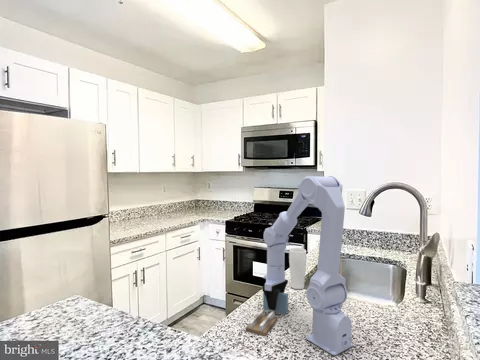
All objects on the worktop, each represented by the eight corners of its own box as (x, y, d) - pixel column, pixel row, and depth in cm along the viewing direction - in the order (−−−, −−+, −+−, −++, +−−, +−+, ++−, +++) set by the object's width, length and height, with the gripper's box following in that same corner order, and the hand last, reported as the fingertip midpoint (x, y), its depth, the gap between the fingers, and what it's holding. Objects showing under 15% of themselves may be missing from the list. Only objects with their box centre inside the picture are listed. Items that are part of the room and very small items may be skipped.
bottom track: (259, 316, 91) (259, 308, 91) (277, 320, 88) (277, 312, 88) (245, 331, 82) (245, 321, 82) (265, 336, 79) (265, 326, 79)
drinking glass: (286, 288, 115) (286, 250, 115) (291, 283, 121) (292, 247, 121) (303, 291, 111) (303, 252, 111) (308, 286, 117) (308, 249, 117)
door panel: (287, 312, 94) (288, 293, 94) (286, 314, 93) (286, 295, 93) (264, 307, 98) (265, 289, 98) (263, 309, 97) (263, 291, 97)
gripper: (271, 257, 104) (271, 295, 104) (255, 268, 91) (255, 311, 91) (291, 259, 101) (290, 299, 101) (277, 271, 88) (276, 316, 88)
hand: (275, 305), depth 95 cm, fingers open, 6 cm apart
